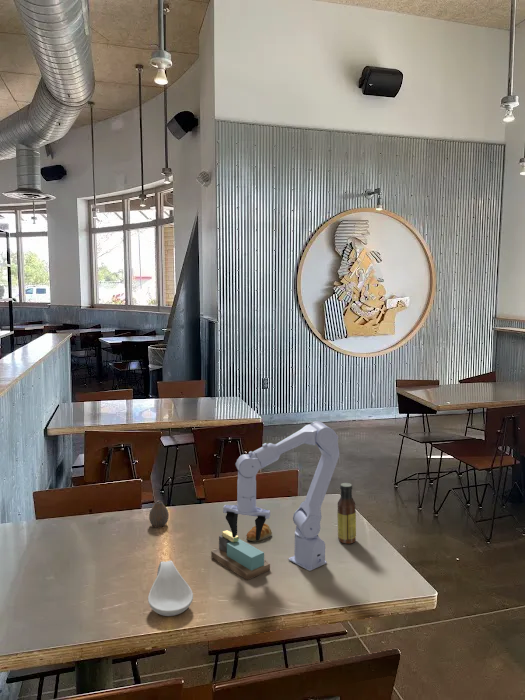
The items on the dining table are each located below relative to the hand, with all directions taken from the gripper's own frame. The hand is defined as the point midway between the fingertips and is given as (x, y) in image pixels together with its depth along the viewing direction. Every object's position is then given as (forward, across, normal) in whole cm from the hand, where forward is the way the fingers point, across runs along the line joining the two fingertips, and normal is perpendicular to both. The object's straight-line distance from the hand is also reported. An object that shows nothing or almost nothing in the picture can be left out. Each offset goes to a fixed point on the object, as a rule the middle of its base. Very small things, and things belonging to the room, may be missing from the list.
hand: (246, 537), depth 160 cm
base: (+9, +2, -2) cm, 10 cm away
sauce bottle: (+10, -27, -28) cm, 40 cm away
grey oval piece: (+10, +40, -19) cm, 45 cm away
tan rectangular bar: (+3, +7, -4) cm, 9 cm away
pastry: (+10, +2, -22) cm, 24 cm away
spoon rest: (+10, +15, +22) cm, 29 cm away
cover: (+7, 0, 0) cm, 7 cm away
